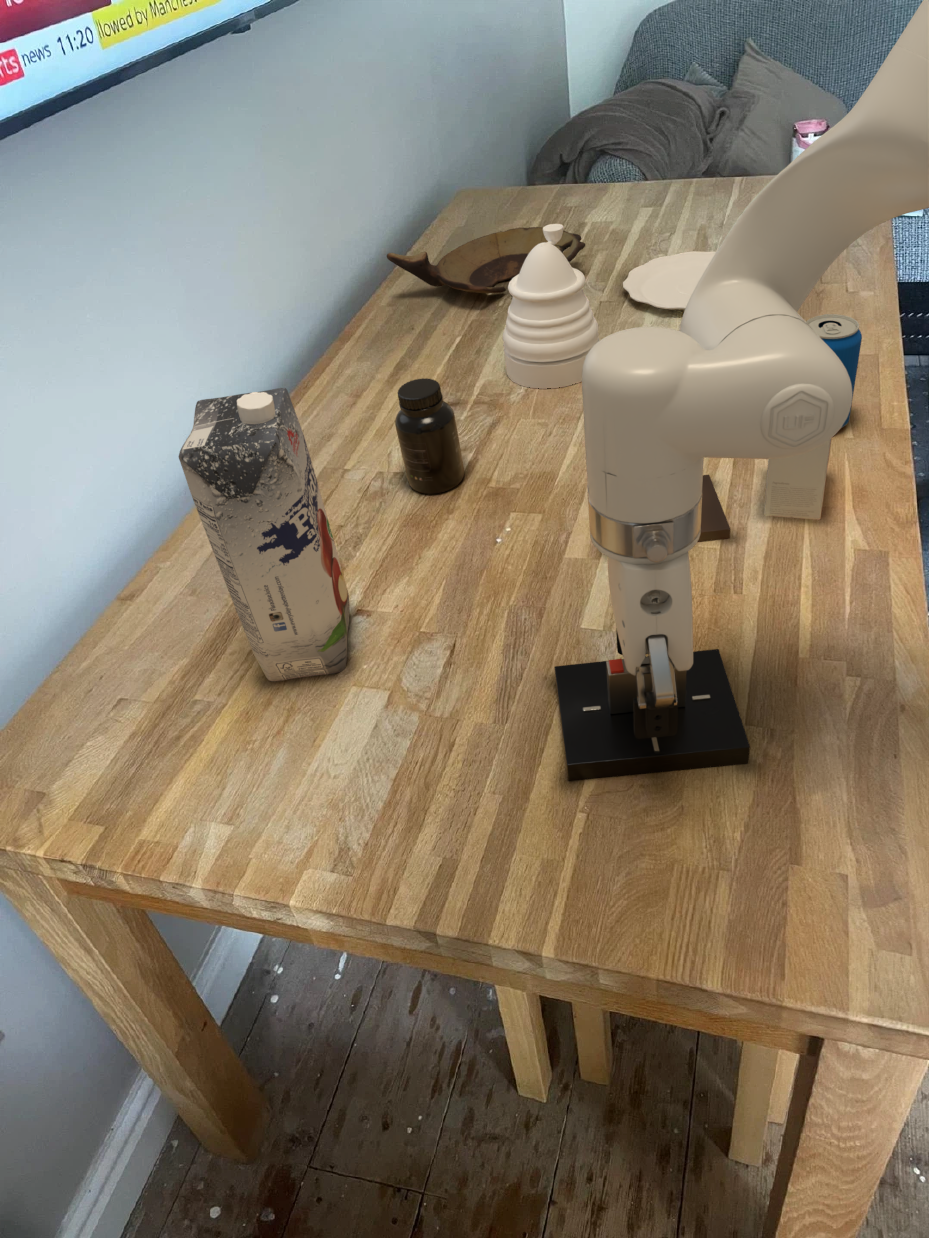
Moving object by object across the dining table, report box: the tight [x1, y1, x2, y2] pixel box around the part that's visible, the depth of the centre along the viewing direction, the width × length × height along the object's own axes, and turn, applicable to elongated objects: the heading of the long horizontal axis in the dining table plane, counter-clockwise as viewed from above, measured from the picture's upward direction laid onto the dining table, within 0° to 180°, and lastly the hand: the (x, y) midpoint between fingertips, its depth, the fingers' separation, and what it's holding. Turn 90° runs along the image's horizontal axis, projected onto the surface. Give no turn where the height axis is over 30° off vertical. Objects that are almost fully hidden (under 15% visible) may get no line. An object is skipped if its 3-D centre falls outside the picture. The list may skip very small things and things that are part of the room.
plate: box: [622, 250, 717, 312], centre depth 141 cm, size 21×21×2 cm
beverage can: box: [805, 313, 863, 429], centre depth 105 cm, size 6×6×12 cm
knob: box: [605, 656, 686, 714], centre depth 75 cm, size 6×2×5 cm, turn 91°
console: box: [554, 648, 751, 782], centre depth 77 cm, size 14×11×3 cm
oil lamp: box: [386, 226, 586, 294], centre depth 151 cm, size 22×30×8 cm
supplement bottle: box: [394, 377, 465, 495], centre depth 107 cm, size 7×7×12 cm
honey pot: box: [502, 223, 600, 390], centre depth 123 cm, size 13×13×18 cm
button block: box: [697, 474, 731, 543], centre depth 97 cm, size 12×10×4 cm
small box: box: [763, 438, 832, 521], centre depth 95 cm, size 8×6×10 cm
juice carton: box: [178, 387, 350, 682], centre depth 82 cm, size 9×10×27 cm
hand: (645, 690), depth 75 cm, fingers open, 8 cm apart
